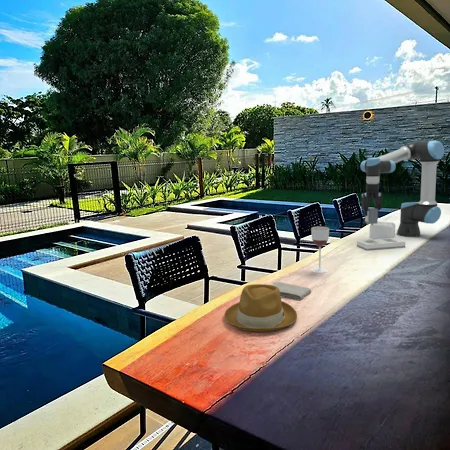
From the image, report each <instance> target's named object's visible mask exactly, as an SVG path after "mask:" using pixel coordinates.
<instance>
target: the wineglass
mask: <svg viewBox="0 0 450 450" xmlns="http://www.w3.org/2000/svg"><path fill="white" fill-rule="evenodd" d="M310 231H311V240H312V243H313V244H314V245H315V246H316V247H318V267H314V268H311V271H312V273H313V272H314V273H320V274H321V273H328V271H329V270H328V269H327V268H323V267H321V262H322V261H321V260H322V258H321V256H322V255H321V254H322V253H321V252H322V250H321V249H322V247H323V246H325V245H326V244H327V243H328V240H329V236H330V228H329V227H327V226H312V227H311V229H310Z"/></svg>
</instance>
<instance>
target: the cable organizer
mask: <svg viewBox="0 0 450 450" xmlns="http://www.w3.org/2000/svg"><path fill="white" fill-rule="evenodd" d="M395 237H396V223H395V222H393V221H379V220H377V223H376V224H373V226H372V225H371V224H369V240H373V239H386V238H395Z"/></svg>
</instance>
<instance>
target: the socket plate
mask: <svg viewBox="0 0 450 450" xmlns="http://www.w3.org/2000/svg"><path fill="white" fill-rule="evenodd" d="M356 247H358V248H360V249H363V250H364V251H375V250H378V251H379V250H389V249H403V247H404V248H406V241H404V240H402V239H401V240H400V239H399V238H395V237H394V238H386V239H373V240H372V239H364V240H363V239H362V240H361V239H359V240H356Z"/></svg>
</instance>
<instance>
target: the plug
mask: <svg viewBox="0 0 450 450" xmlns="http://www.w3.org/2000/svg"><path fill="white" fill-rule="evenodd" d="M368 211H369V222H367V221H365V220H364V223H366V225H367V226H369V225H372V226H373V224H376V223H377V221H379V220H378V217H379V213H378V209H376V208H375V207H369V208H368Z"/></svg>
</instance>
